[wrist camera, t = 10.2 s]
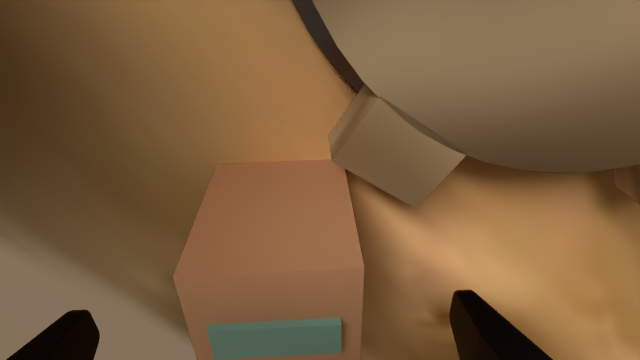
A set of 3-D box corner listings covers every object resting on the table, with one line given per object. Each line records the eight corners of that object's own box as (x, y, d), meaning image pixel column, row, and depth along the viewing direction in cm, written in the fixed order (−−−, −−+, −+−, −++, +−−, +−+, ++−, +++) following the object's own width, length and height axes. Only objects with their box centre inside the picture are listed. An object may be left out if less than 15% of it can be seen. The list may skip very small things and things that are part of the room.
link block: (234, 258, 14) (204, 397, 10) (217, 163, 12) (170, 284, 8) (342, 253, 15) (360, 389, 10) (342, 158, 13) (365, 274, 8)
